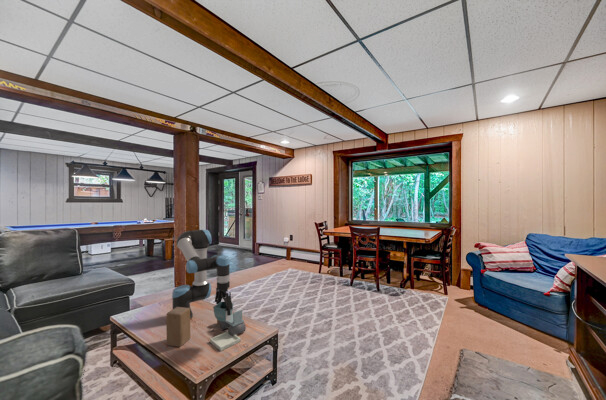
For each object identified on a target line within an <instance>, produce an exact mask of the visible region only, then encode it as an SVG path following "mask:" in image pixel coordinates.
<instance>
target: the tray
mask: <svg viewBox="0 0 606 400" xmlns="http://www.w3.org/2000/svg"><path fill="white" fill-rule="evenodd" d="M241 339H242V338H241V337H240V336H238V335H234V336H233V337H232V336H231V335H230V334H229V333H228V330H227V331H224V332H222V333H221V334H218V335H216V336H213V337H211V338H209V342H210V344H211V345H213V346H214V347H215V348H216V349H217V350H219V352H222V351H224V350H227V349H229V348H231V347H232V346H235V345H238V344H239V343H241V341H242V340H241Z"/></svg>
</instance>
